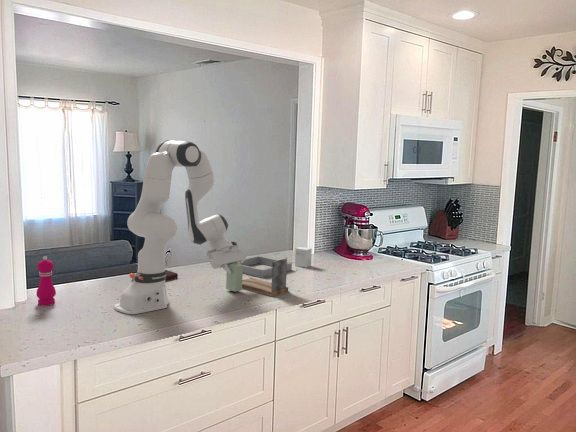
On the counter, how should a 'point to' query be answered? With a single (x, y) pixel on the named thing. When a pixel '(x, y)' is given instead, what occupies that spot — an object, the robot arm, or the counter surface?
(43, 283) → the pepper mill
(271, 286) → the bookend
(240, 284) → the sage green box
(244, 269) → the gray square frame
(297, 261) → the small box
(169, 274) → the book
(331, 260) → the counter surface
